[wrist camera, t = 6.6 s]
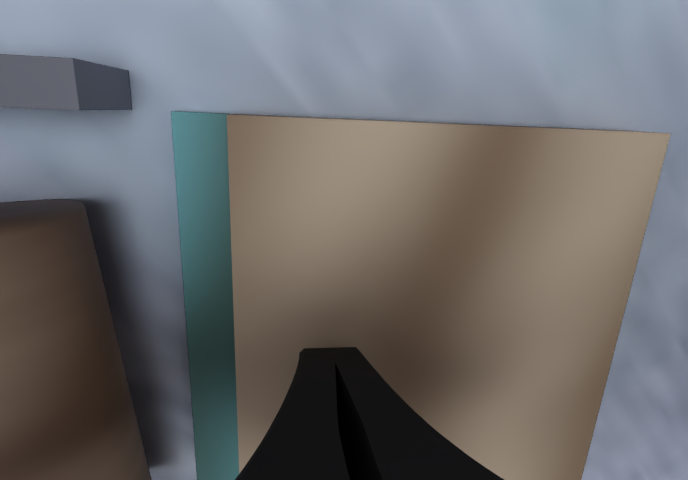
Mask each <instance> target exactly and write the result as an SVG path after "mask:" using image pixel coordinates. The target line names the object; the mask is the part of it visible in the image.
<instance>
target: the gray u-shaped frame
mask: <svg viewBox="0 0 688 480" xmlns="http://www.w3.org/2000/svg"><path fill="white" fill-rule="evenodd" d="M0 107H12V108H36V109H60V110H132V105H131V94H130V84H129V74H128V71H127V70H122V69H118V68H114V67H109V66H105V65H100V64H96V63H92V62H87V61H83V60H78V59H74V58H60V57H42V56H25V55H7V54H0Z"/></svg>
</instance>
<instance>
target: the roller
mask: <svg viewBox="0 0 688 480" xmlns="http://www.w3.org/2000/svg"><path fill="white" fill-rule="evenodd" d="M0 480H151V476H150V472H149V468H148V464H147V459H146V455H145V451H144V447H143V443H142V439H141V435H140V431H139V426H138V422H137V418H136V414H135V410H134V406H133V402H132V398H131V393H130V389H129V385H128V381H127V377H126V373H125V369H124V365H123V360H122V356H121V352H120V348H119V344H118V340H117V336H116V332H115V327H114V323H113V319H112V315H111V311H110V307H109V303H108V299H107V294H106V290H105V286H104V282H103V278H102V274H101V270H100V266H99V261H98V257H97V253H96V249H95V245H94V241H93V237H92V233H91V228H90V224H89V220H88V216H87V212H86V208H85V205H84V204H83V203H81V202H78V201H73V200H61V199H44V200H31V201H17V202H3V203H0Z"/></svg>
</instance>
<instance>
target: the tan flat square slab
mask: <svg viewBox="0 0 688 480" xmlns="http://www.w3.org/2000/svg"><path fill="white" fill-rule="evenodd" d="M171 120H172V134H173V148H174V162H175V176H176V190H177V204H178V218H179V232H180V246H181V260H182V274H183V288H184V302H185V316H186V330H187V344H188V358H189V372H190V386H191V400H192V414H193V428H194V442H195V456H196V470H197V480H235V479H236V477H237V476H238V475H239V474H240V472H241V471H242V470H243V468H244V467H245V465H246V464H247V462H248V461H249V459H250V458H251V457H252V455H253V454H254V452H255V451H256V449H257V448H258V446H259V444H260V443H261V441H262V440H263V438H264V436H265V435H266V433H267V431H268V430H269V428H270V426H271V424H272V422H273V420H274V419H275V417H276V415H277V413H278V411H279V409H280V407H281V405H282V403H283V401H284V399H285V397H286V394H287V392H288V390H289V388H290V385H291V383H292V381H293V378H294V375H295V372H296V369H297V365H298V361H299V353H300V352H301V351H302V350H303V349H304V348H335V347H356V348H357V349H358V350H359V351H360V352H361V353H362V354H363V355H364V357H365V358H366V359H367V360H368V361H369V363H370V364H371V365H372V366H373V367H374V369H375V370H376V371H377V372H378V373H379V374H380V375H381V377H382V378H383V379H384V380H385V381H386V382H387V383H388V384H389V385H390V387H391V388H392V389H393V390H394V391H395V392H396V393H397V394H398V395H399V396H400V397H401V398H402V399H403V400H404V401H405V402H406V403H407V404H408V405H409V406H410V407H411V408H412V409H413V410H414V411H415V412H416V413H417V414H418V415H419V416H421V417H422V418H423V419H424V420H425V421H426V422H427V423H428V424H429V425H430V426H432V427H433V428H434V429H435V430H436V431H438V432H439V433H440V434H441V435H442V436H444V437H445V438H446V439H448V440H449V441H450V442H451V443H453V444H454V445H455V446H457V447H458V448H459V449H461V450H462V451H463V452H464V453H466V454H467V455H468V456H470V457H471V458H473V459H474V460H475V461H477V462H478V463H480V464H481V465H483V466H484V467H486V468H487V469H489V470H490V471H492V472H493V473H495V474H496V475H498V476H499V477H501V478H502V479H504V480H581V478H582V474H583V470H584V467H585V463H586V459H587V455H588V451H589V447H590V443H591V440H592V436H593V432H594V428H595V424H596V420H597V416H598V412H599V409H600V405H601V401H602V397H603V393H604V389H605V385H606V382H607V378H608V374H609V370H610V366H611V362H612V358H613V354H614V351H615V347H616V343H617V339H618V335H619V331H620V327H621V324H622V320H623V316H624V312H625V308H626V304H627V300H628V296H629V293H630V289H631V285H632V281H633V277H634V273H635V269H636V266H637V262H638V258H639V254H640V250H641V246H642V242H643V238H644V235H645V231H646V227H647V223H648V219H649V215H650V211H651V208H652V204H653V200H654V196H655V192H656V188H657V184H658V180H659V177H660V173H661V169H662V165H663V161H664V157H665V153H666V150H667V146H668V142H669V138H670V134H669V133H655V132H640V131H623V130H599V129H576V128H552V127H529V126H506V125H482V124H459V123H435V122H412V121H388V120H365V119H342V118H318V117H295V116H271V115H248V114H224V113H201V112H178V111H171Z"/></svg>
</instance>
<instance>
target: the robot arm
mask: <svg viewBox="0 0 688 480" xmlns="http://www.w3.org/2000/svg"><path fill="white" fill-rule="evenodd" d="M235 480H504V479H502V478H501V477H499V476H498V475H496V474H495V473H493V472H492V471H490V470H489V469H487V468H486V467H484V466H483V465H481V464H480V463H478V462H477V461H475V460H474V459H473V458H471V457H470V456H468V455H467V454H466V453H464V452H463V451H462V450H461V449H459V448H458V447H457V446H455V445H454V444H453V443H451V442H450V441H449V440H448V439H446V438H445V437H444V436H442V435H441V434H440V433H439V432H438V431H436V430H435V429H434V428H433V427H432V426H430V425H429V424H428V423H427V422H426V421H425V420H424V419H423V418H422V417H421V416H419V415H418V414H417V413H416V412H415V411H414V410H413V409H412V408H411V407H410V406H409V405H408V404H407V403H406V402H405V401H404V400H403V399H402V398H401V397H400V396H399V395H398V394H397V393H396V392H395V391H394V390H393V389H392V388H391V387H390V385H389V384H388V383H387V382H386V381H385V380H384V379H383V378H382V377H381V375H380V374H379V373H378V372H377V371H376V370H375V369H374V367H373V366H372V365H371V364H370V363H369V361H368V360H367V359H366V358H365V357H364V355H363V354H362V353H361V352H360V351H359V350H358V349H357V348H356V347H335V348H304V349H303V350H302V351H301V352H300V353H299V361H298V365H297V369H296V372H295V375H294V378H293V381H292V383H291V385H290V388H289V390H288V392H287V394H286V397H285V399H284V401H283V403H282V405H281V407H280V409H279V411H278V413H277V415H276V417H275V419H274V420H273V422H272V424H271V426H270V428H269V430H268V431H267V433H266V435H265V436H264V438H263V440H262V441H261V443H260V444H259V446H258V448H257V449H256V451H255V452H254V454H253V455H252V457H251V458H250V459H249V461H248V462H247V464H246V465H245V467H244V468H243V470H242V471H241V472H240V474H239V475H238V476H237V477H236V479H235Z"/></svg>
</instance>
